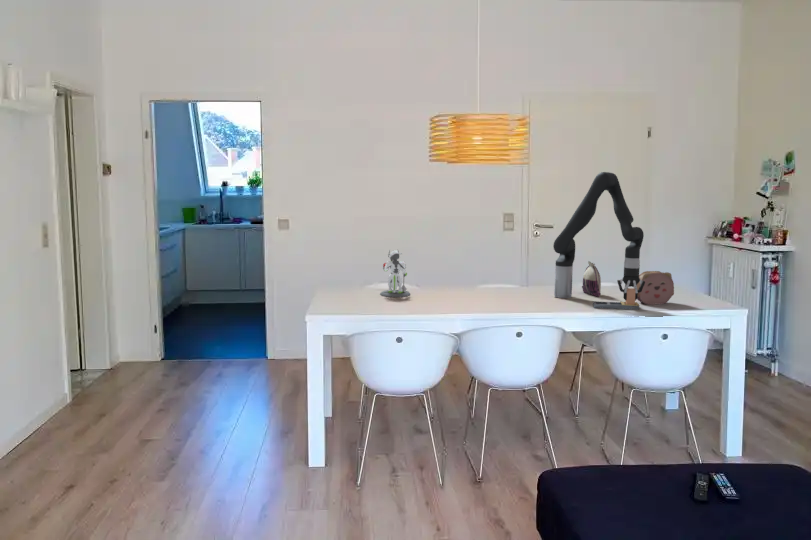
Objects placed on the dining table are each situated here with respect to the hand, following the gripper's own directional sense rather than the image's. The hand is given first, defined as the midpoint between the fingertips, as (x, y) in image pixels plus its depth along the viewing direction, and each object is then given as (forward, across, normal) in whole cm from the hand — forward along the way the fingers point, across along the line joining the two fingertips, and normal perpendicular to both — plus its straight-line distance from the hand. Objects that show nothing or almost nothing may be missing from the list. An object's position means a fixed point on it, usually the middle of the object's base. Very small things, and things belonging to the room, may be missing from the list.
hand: (630, 300), depth 370 cm
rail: (+4, +7, 0) cm, 8 cm away
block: (+2, 0, 0) cm, 2 cm away
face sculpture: (+4, -14, -16) cm, 22 cm away
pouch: (+4, +16, -36) cm, 40 cm away
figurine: (+4, +124, -16) cm, 125 cm away
